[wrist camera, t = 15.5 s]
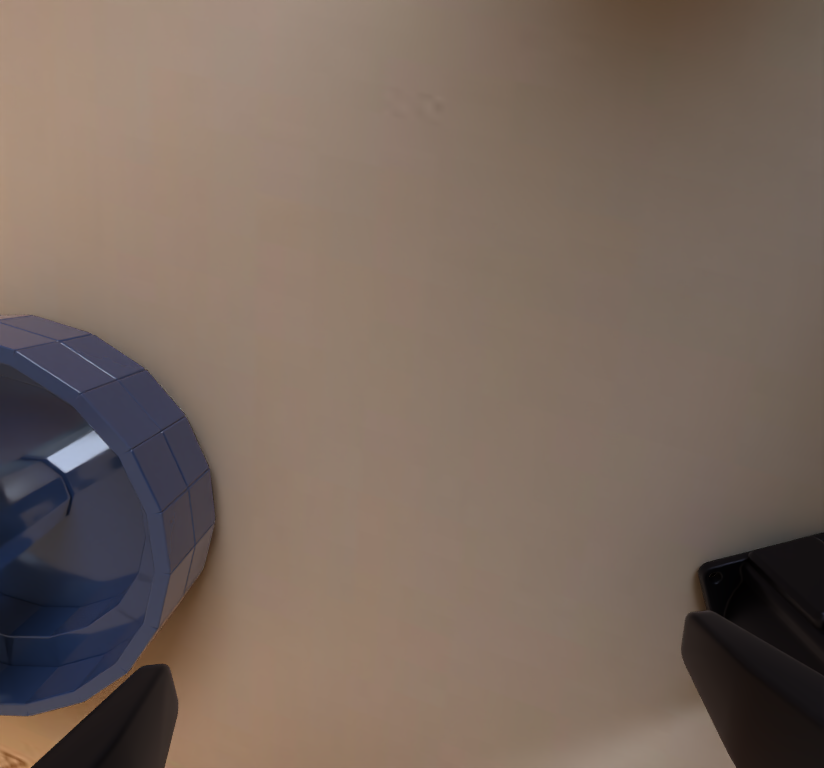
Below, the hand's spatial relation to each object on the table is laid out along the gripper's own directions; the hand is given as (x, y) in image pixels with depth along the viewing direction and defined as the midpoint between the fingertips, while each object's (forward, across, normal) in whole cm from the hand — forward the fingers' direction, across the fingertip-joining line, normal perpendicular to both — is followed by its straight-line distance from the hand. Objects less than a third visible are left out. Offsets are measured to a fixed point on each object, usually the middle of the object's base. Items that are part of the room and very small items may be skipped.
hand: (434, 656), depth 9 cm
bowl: (+14, +16, +3) cm, 21 cm away
